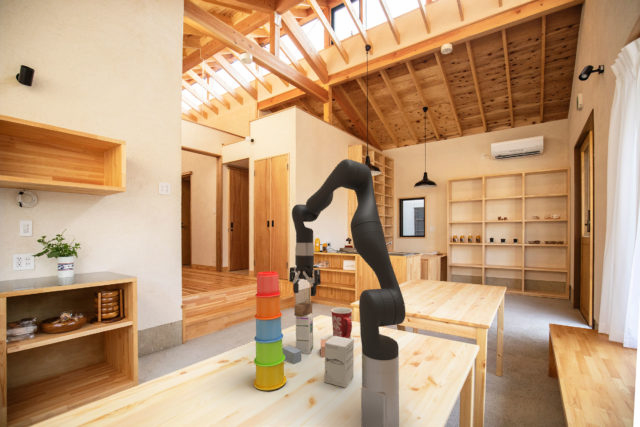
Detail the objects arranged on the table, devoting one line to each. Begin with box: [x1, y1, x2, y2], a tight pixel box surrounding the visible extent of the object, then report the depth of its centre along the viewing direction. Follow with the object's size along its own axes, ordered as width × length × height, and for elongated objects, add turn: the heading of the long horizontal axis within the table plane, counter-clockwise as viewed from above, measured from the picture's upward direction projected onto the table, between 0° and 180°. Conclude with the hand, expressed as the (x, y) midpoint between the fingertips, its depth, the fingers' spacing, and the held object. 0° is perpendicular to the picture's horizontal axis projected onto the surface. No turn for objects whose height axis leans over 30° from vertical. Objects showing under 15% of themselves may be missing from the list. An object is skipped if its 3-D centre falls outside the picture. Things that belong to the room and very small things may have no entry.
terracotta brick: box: [320, 339, 329, 358], centre depth 114 cm, size 7×4×4 cm, turn 1°
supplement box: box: [324, 336, 355, 389], centre depth 94 cm, size 7×7×13 cm
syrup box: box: [295, 312, 314, 355], centre depth 117 cm, size 6×6×14 cm
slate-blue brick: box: [283, 344, 302, 365], centre depth 108 cm, size 7×4×4 cm, turn 46°
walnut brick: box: [293, 301, 313, 317], centre depth 116 cm, size 7×4×4 cm, turn 145°
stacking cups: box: [253, 270, 288, 392], centre depth 93 cm, size 10×10×35 cm
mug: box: [331, 307, 353, 339], centre depth 124 cm, size 13×9×14 cm
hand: (304, 294), depth 117 cm, fingers open, 8 cm apart
